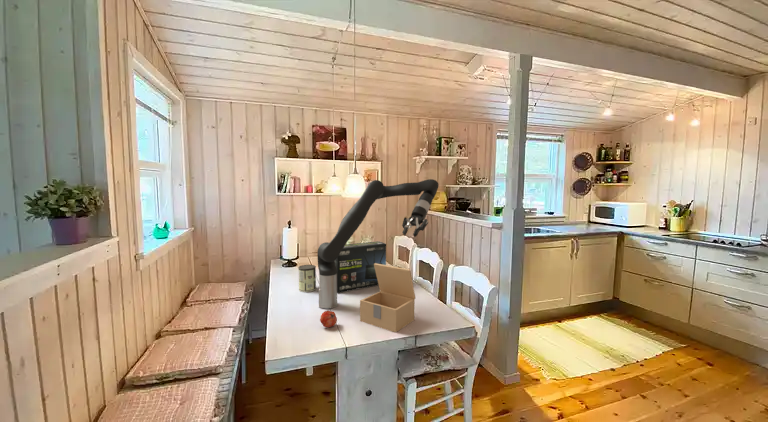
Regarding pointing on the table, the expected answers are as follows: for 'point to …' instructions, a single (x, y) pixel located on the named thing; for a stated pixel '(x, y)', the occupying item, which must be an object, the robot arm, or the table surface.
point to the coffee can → (307, 278)
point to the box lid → (395, 280)
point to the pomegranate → (328, 319)
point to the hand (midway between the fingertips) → (409, 235)
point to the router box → (359, 265)
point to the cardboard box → (387, 311)
